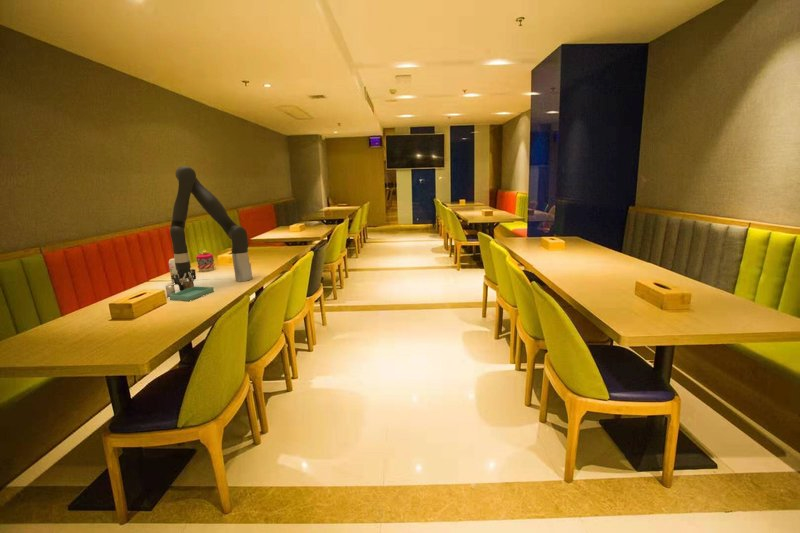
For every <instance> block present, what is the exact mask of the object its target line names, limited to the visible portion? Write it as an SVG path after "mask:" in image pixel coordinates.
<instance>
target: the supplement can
mask: <svg viewBox="0 0 800 533" xmlns="http://www.w3.org/2000/svg"><path fill="white" fill-rule="evenodd" d="M168 267H169V273H170V277H171V278H170V279H171V283H172V284H173V283H175V282H174V279H173V274H177V270H176V266H175V261H174V257H172V258H170V259H169V260H168ZM185 281H188V279H187V278H186V279H185V280H184V281H183V282H185ZM180 283H181V282H180Z"/></svg>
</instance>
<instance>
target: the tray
mask: <svg viewBox="0 0 800 533" xmlns="http://www.w3.org/2000/svg"><path fill="white" fill-rule="evenodd" d="M214 292H215V290H214V287H213V286H212V287H211V286H195V285H194V287H191V288H188V289H185V290H183V291H180V290H179V291H178V292H175V293H174V294H171V295H169V297H170V298H169V300H170V301H177V300H185V301H184V302H191V301H190V300H192V301H194V300H196V298H197V299H199V298H198V297H200V298H201V296H202V297H204V296H203V295H205V296H207V295H209V293H210V294H211V293H214ZM206 294H207V295H206ZM193 299H194V300H193Z"/></svg>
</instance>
